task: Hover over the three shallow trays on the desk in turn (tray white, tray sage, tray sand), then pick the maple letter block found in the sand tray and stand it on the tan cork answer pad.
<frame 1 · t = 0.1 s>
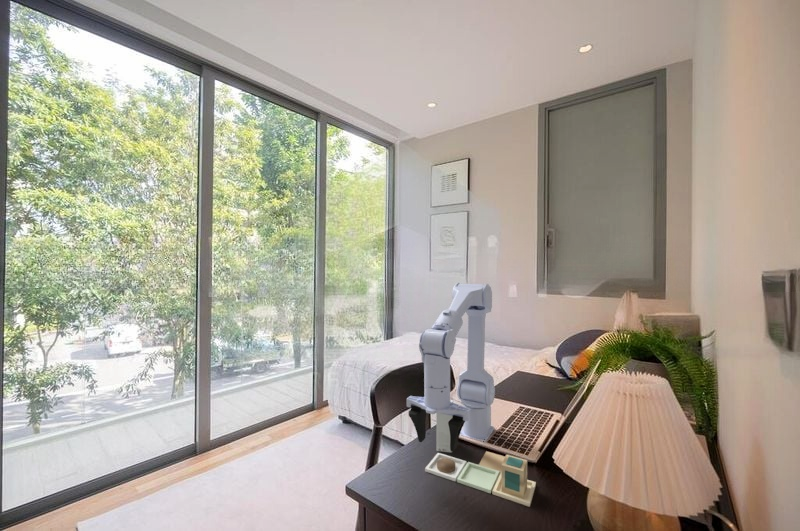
hand: (437, 444, 77), 10 cm above the table, tool pointing down, fingers open, 7 cm apart
letter block: (514, 489, 75), resting on tray sand
tray sage: (478, 480, 79), on the table
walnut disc: (446, 467, 83), resting on tray white
cork pad: (496, 464, 85), on the table
tray sand: (514, 491, 75), on the table
tray white: (446, 469, 83), on the table
skincare box: (445, 448, 93), on the table
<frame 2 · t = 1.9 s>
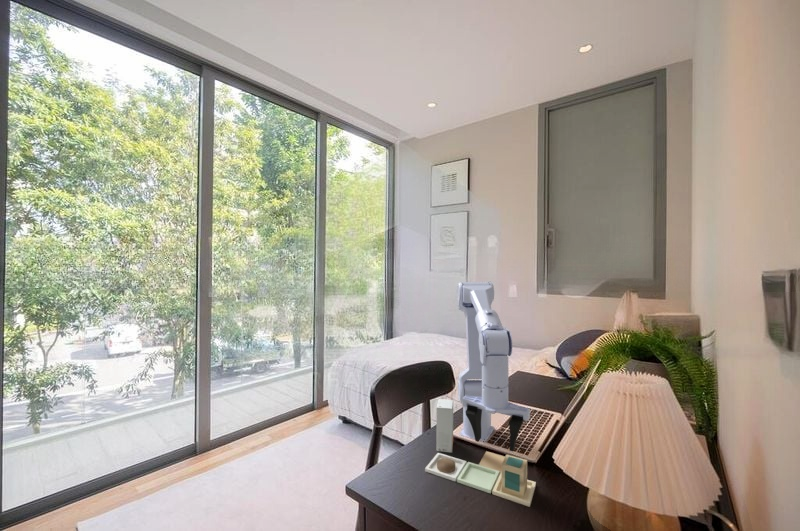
hand: (494, 444, 77), 9 cm above the table, tool pointing down, fingers open, 7 cm apart
nothing on the table moved.
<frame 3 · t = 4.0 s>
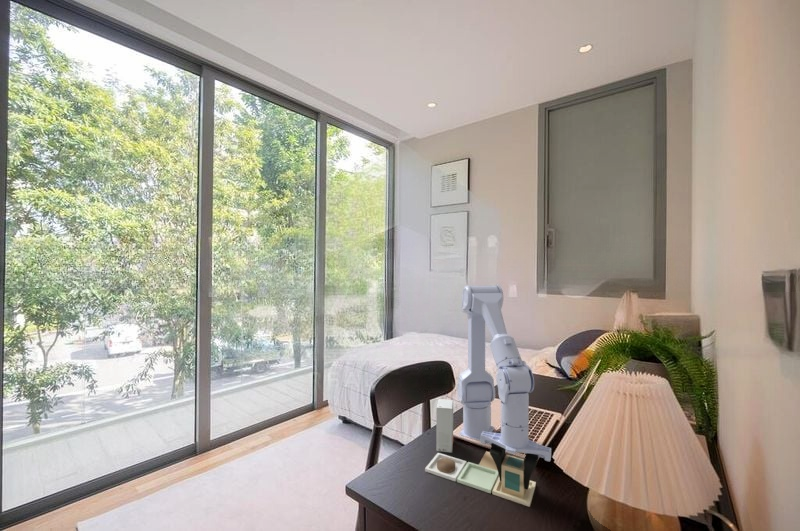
hand: (514, 482, 75), 2 cm above the table, tool pointing down, fingers closed on letter block, 4 cm apart
letter block: (514, 489, 75), resting on tray sand, touching gripper
everything else where it was.
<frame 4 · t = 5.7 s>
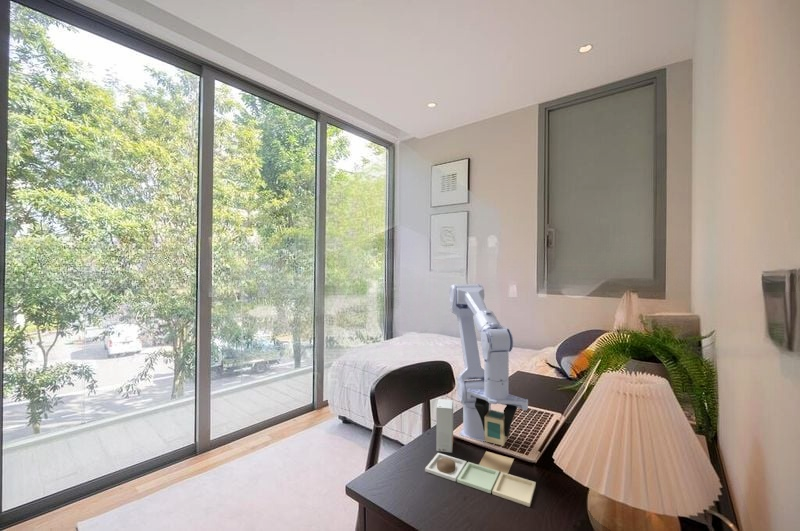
hand: (496, 432, 85), 8 cm above the table, tool pointing down, fingers closed on letter block, 4 cm apart
letter block: (496, 438, 85), point 6 cm above the table, touching gripper
everything else where it was.
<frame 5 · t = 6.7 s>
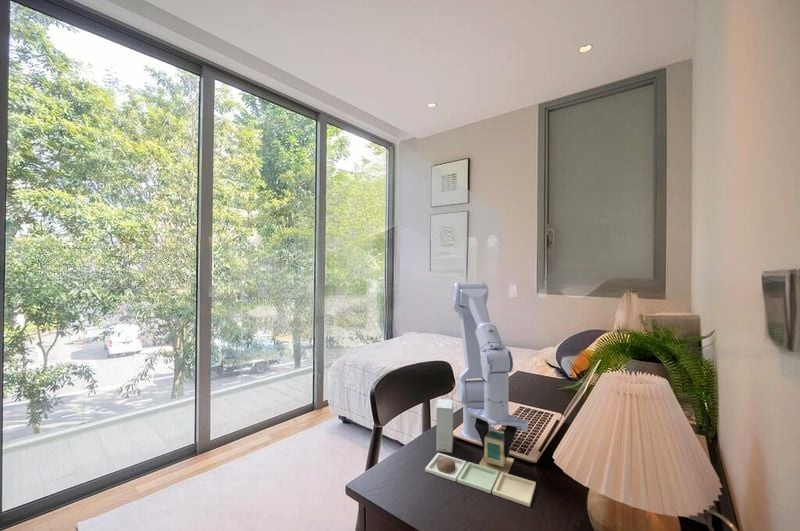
hand: (496, 452, 85), 3 cm above the table, tool pointing down, fingers closed on letter block, 4 cm apart
letter block: (496, 459, 85), point 1 cm above the table, touching gripper
everything else where it was.
when the fingers open (3 cm above the table, at t = 7.4 s): letter block stays where it is, resting on cork pad.
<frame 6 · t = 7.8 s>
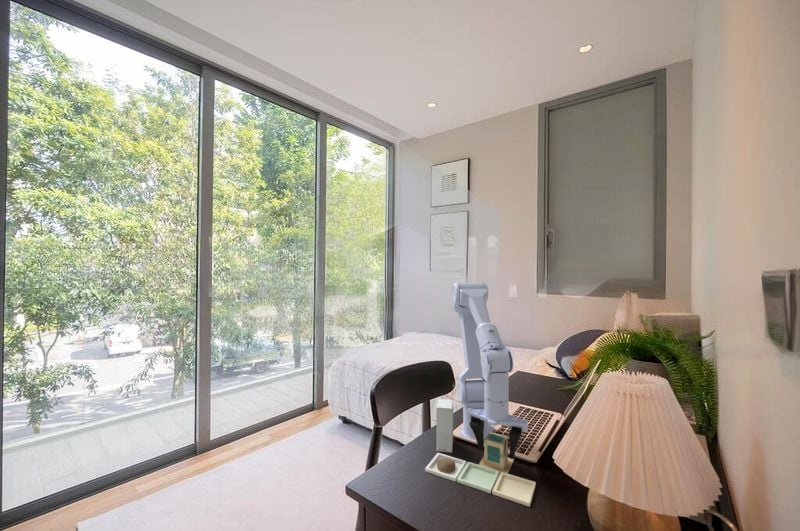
hand: (496, 452, 85), 3 cm above the table, tool pointing down, fingers open, 7 cm apart
letter block: (496, 462, 85), point 1 cm above the table, touching cork pad
everything else where it was.
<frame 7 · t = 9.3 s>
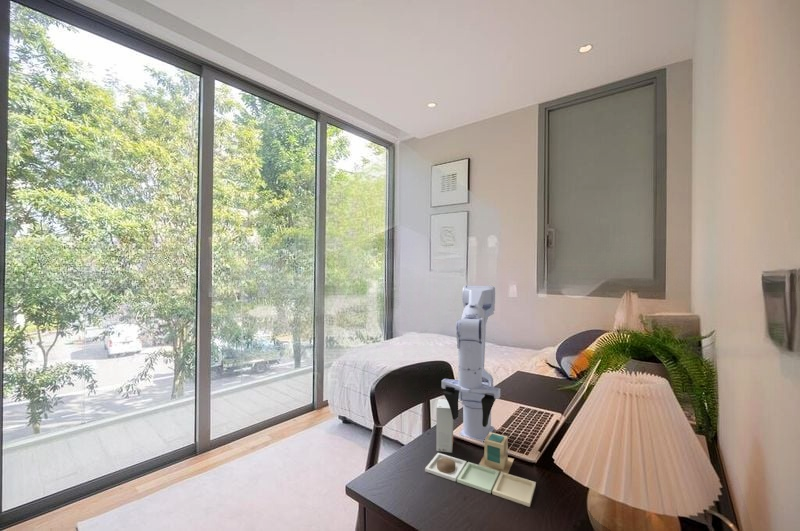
hand: (469, 421, 86), 10 cm above the table, tool pointing down, fingers open, 7 cm apart
nothing on the table moved.
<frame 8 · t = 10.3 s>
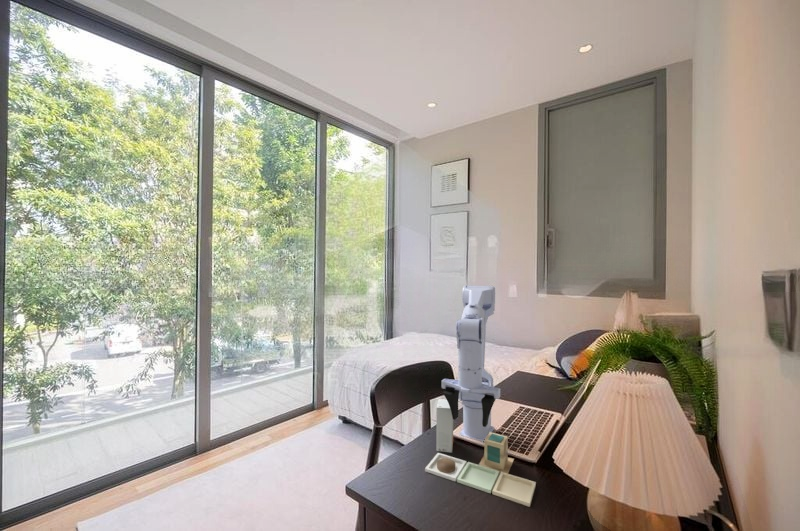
hand: (469, 421, 86), 10 cm above the table, tool pointing down, fingers open, 7 cm apart
nothing on the table moved.
at the end: letter block inside the target area on the cork pad (0.1 cm from its centre), point 0.6 cm above the cork pad's base; letter block tilted 0°; the gripper is holding nothing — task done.
